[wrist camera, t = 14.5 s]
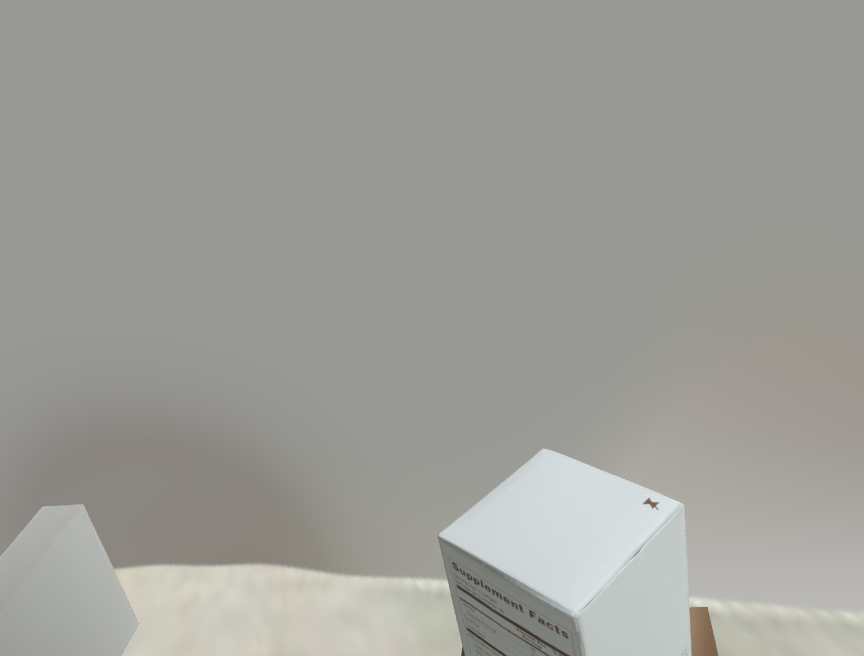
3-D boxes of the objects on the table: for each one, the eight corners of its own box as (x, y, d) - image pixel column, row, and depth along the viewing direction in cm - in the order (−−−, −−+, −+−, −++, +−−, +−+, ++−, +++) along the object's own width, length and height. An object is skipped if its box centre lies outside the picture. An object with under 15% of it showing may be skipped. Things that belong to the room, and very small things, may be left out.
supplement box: (571, 637, 43) (545, 441, 37) (699, 714, 37) (692, 500, 32) (476, 735, 38) (431, 531, 33) (605, 837, 33) (577, 616, 28)
